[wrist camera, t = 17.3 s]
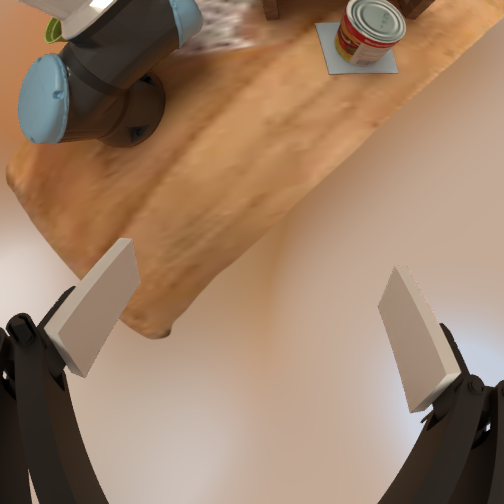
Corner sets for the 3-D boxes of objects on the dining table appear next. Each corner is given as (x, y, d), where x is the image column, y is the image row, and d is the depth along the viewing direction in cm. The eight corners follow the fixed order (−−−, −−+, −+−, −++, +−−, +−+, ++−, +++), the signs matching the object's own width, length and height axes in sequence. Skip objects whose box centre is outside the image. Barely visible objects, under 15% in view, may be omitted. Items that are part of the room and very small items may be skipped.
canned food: (369, 25, 29) (389, -7, 18) (387, 63, 31) (416, 41, 20) (326, 30, 31) (336, -3, 20) (345, 70, 33) (362, 45, 22)
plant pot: (64, 50, 36) (38, 44, 28) (79, 15, 32) (55, 7, 24) (89, 49, 36) (62, 41, 28) (105, 12, 32) (81, 1, 24)
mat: (329, 74, 34) (329, 74, 34) (314, 24, 31) (314, 23, 31) (397, 73, 32) (398, 73, 32) (381, 24, 29) (382, 23, 28)
